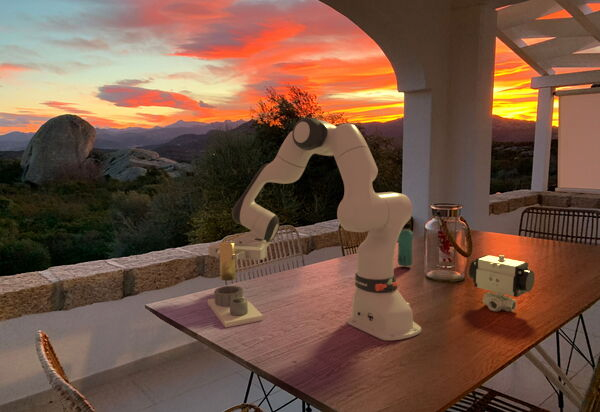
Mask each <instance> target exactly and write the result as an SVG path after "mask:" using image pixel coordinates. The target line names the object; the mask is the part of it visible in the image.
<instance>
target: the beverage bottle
mask: <svg viewBox="0 0 600 412" xmlns="http://www.w3.org/2000/svg"><path fill="white" fill-rule="evenodd" d="M411 224H412V223H410V222H407V223H406V224H405V225H404V227H403V228H402V230H401V232H400V235H399V237H398V240H397V245H398V246H397V248H398V249H397V264H398V265H399V266H400V267H401V266H402V267H410V266H413V257H414V256H413V255H414V249H413V244H414V240H413V239H414V233H413V232H412V230H410V229H411V228H412V226H411Z"/></svg>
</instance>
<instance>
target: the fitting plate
mask: <svg viewBox="0 0 600 412" xmlns="http://www.w3.org/2000/svg"><path fill="white" fill-rule="evenodd" d="M213 292H214V293H213V294H214V298H209V299H207V305H208V307H209V308H210V309H211V310H212V312H213V313H214V315H215V316H216V317H217V318H218V320H219V321H220V322H221V324H222V325H223V326H224V327H225V328H230V327H236V326H240V325H245V324H250V323H255V322H260V321H263V320H264V314H262V313H261V311H259V310H258V309H257V308H256V307H255V306H254V304H252V303H251V302H250V301H249V300H248V299H247V298H246V297H245V296H244V289H243V288H242V287H241V286H239V285H225V286H220V287H217V288H216V289H215V290H214V291H213Z"/></svg>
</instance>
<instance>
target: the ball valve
mask: <svg viewBox="0 0 600 412" xmlns="http://www.w3.org/2000/svg"><path fill="white" fill-rule="evenodd" d="M468 275H469V278H470V279H472V282H473V283H474V286H473V287H475V288H477V289H482V290H487V291H489V292H485V293H484V294H483V297H482V302H483V304H484V305H486V306H487V308H488V309H489V310H490V311H491V312H492V311H493V312H500V311H501V310H502V311H505V312H514V311H515V310H516V308H517V300H516V299H513V298H512V297H515V298H518V297H520V296H522V295H524V294H526V293H530V292H531V291H532V290H533V287H534V285H535V279H536V278H535V277H536V276H535V272H534V270H530V267H529V262H526V261H519V260H515V259H510V258H505V255H502V254H499V255H498V256H494V255H488V254H485V255H482V256H479V257H477V258H475V259H473V260H472V261H471V263H470V265H469V269H468Z"/></svg>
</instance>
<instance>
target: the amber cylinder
mask: <svg viewBox="0 0 600 412" xmlns="http://www.w3.org/2000/svg"><path fill="white" fill-rule="evenodd" d="M218 243H219V251H220V258H219V265H220V266H219V270H220V271H219V275H220V280H222V281H233V280H235V279H236V278H237V277H236V276H237V275H236V271H237V270H236V260H233V254H235V243H234V242H233V241H221V242H218Z"/></svg>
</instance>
